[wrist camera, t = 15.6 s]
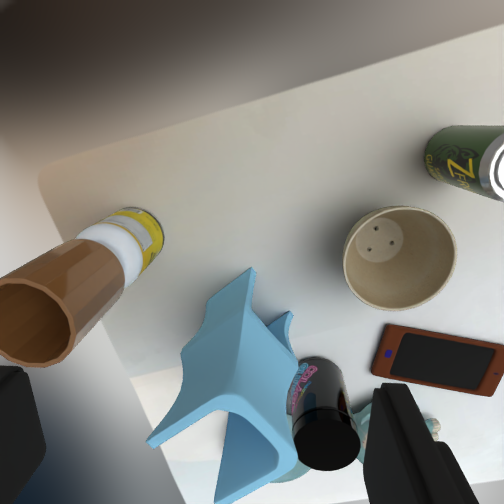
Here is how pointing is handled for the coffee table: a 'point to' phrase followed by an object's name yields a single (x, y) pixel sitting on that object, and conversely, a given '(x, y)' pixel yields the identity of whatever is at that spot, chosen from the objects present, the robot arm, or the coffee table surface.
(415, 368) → the smartphone
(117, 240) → the pill bottle
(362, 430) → the stuffed animal
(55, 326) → the wooden cup
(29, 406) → the robot arm
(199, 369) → the blue doll chair
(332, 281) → the coffee table surface
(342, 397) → the supplement container
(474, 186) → the beer can
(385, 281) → the flower pot
